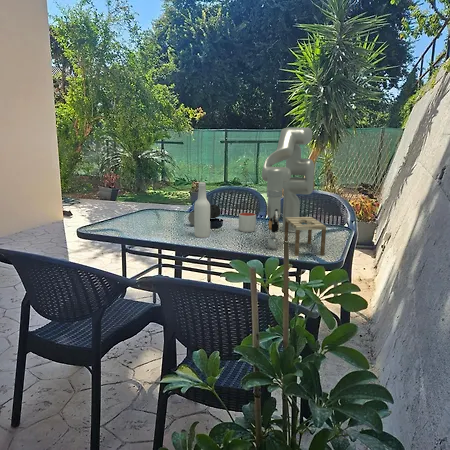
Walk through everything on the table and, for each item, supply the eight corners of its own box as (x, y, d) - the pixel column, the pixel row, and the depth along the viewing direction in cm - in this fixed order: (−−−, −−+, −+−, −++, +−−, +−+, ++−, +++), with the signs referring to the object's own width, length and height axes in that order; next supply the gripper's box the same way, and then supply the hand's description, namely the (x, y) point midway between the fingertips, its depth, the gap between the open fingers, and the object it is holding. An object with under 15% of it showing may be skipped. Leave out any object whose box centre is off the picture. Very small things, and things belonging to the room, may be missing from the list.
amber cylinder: (266, 247, 201) (267, 220, 198) (276, 247, 202) (277, 220, 199) (268, 250, 196) (269, 222, 193) (278, 249, 197) (279, 222, 194)
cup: (244, 228, 243) (244, 212, 241) (258, 230, 237) (259, 214, 235) (235, 231, 235) (235, 214, 233) (249, 233, 230) (250, 216, 227)
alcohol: (212, 237, 220) (212, 183, 214) (197, 238, 218) (196, 183, 211) (207, 233, 229) (207, 181, 222) (192, 234, 226) (192, 182, 219)
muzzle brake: (221, 219, 268) (221, 204, 265) (200, 228, 243) (200, 211, 241) (208, 218, 272) (208, 203, 269) (187, 226, 247) (186, 210, 245)
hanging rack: (284, 243, 209) (285, 217, 206) (310, 243, 210) (311, 216, 207) (295, 255, 187) (296, 226, 184) (324, 255, 189) (326, 226, 186)
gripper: (263, 191, 201) (262, 226, 205) (270, 196, 185) (269, 234, 188) (278, 191, 202) (277, 226, 206) (286, 196, 185) (285, 234, 189)
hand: (273, 230), depth 197 cm, fingers closed on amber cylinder, 5 cm apart
